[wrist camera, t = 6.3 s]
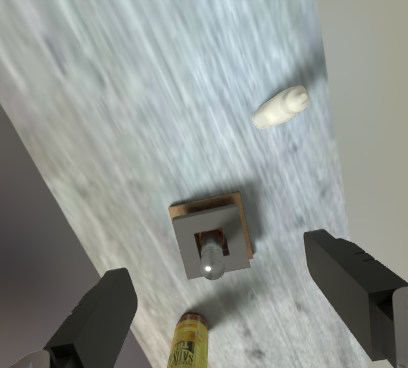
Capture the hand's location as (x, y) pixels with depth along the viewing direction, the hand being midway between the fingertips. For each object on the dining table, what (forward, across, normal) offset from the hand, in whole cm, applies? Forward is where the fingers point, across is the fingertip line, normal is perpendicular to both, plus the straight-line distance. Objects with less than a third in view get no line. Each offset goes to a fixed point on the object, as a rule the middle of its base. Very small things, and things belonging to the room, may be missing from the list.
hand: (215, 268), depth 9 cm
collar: (+22, +2, +10) cm, 24 cm away
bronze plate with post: (+25, +2, +10) cm, 27 cm away
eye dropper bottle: (+26, -11, -7) cm, 29 cm away
